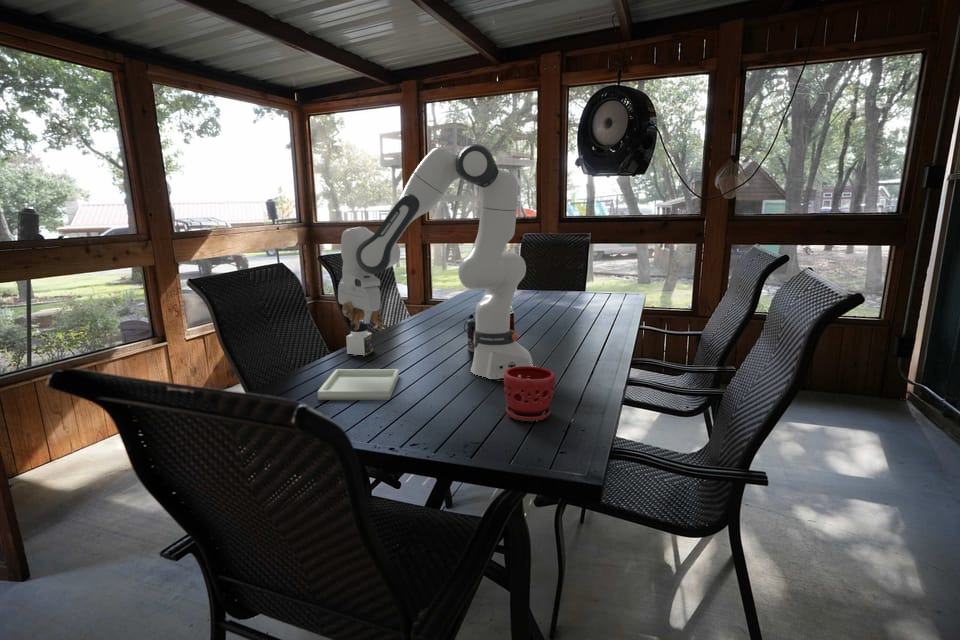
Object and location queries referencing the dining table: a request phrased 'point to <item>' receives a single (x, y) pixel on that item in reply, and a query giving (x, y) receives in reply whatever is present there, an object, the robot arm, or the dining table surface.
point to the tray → (359, 384)
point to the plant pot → (528, 392)
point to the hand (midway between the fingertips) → (359, 321)
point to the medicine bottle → (359, 340)
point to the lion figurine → (361, 316)
